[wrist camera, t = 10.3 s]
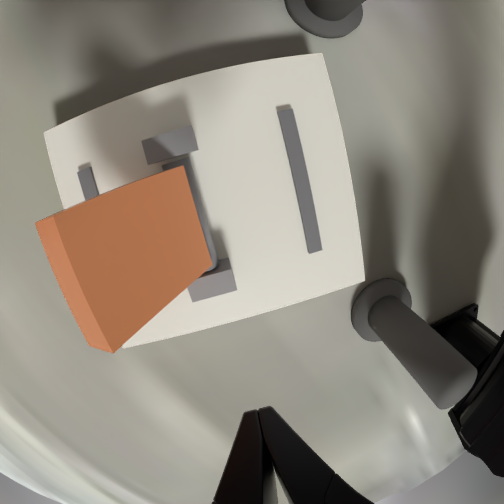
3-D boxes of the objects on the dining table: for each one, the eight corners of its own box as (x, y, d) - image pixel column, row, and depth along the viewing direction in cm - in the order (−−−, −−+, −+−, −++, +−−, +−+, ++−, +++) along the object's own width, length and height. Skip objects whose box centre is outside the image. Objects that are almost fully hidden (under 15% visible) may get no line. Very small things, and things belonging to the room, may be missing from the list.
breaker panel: (310, 61, 16) (334, 43, 13) (352, 269, 21) (378, 292, 17) (58, 133, 15) (27, 131, 12) (129, 332, 20) (117, 365, 17)
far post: (405, 270, 22) (496, 336, 12) (406, 323, 23) (479, 396, 14) (348, 290, 21) (427, 377, 12) (353, 344, 23) (416, 434, 14)
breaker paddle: (196, 154, 15) (50, 206, 8) (226, 259, 16) (117, 360, 10) (172, 162, 15) (32, 214, 9) (201, 261, 17) (92, 352, 11)
